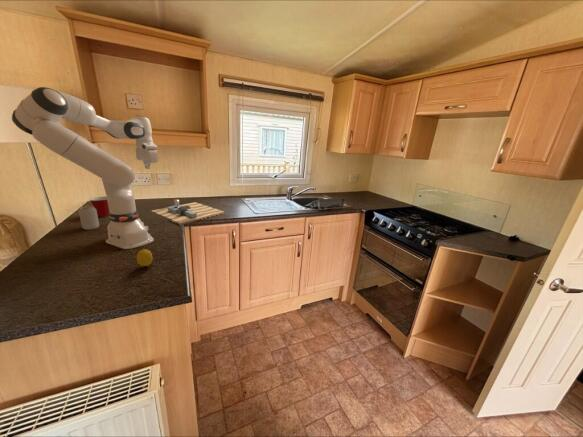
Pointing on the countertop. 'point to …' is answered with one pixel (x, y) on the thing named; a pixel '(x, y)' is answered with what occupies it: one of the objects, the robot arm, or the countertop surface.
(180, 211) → the keeper
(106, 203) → the plastic cup
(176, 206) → the pin
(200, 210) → the board
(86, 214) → the can
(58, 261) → the countertop surface
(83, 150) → the robot arm
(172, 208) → the link
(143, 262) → the lemon
